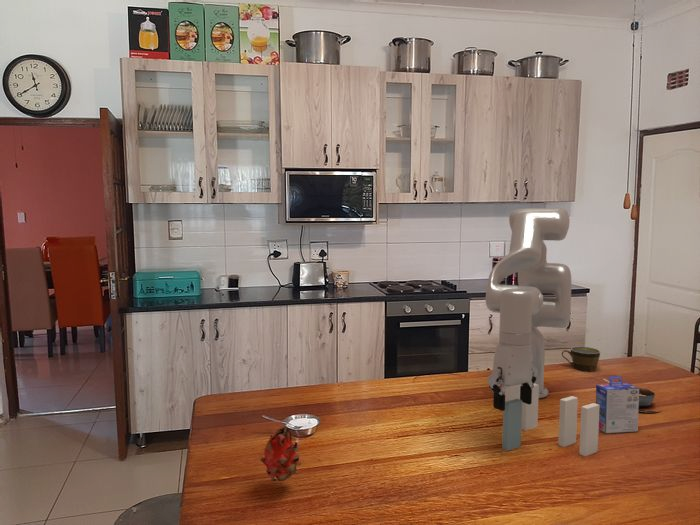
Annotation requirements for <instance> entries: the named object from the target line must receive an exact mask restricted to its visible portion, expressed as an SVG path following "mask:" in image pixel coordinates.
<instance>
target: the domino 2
mask: <svg viewBox="0 0 700 525" xmlns="http://www.w3.org/2000/svg"><path fill="white" fill-rule="evenodd" d="M502 412H503V413H502V414H503V415H502V418H503V419H502V442H501V443H502V444H501V445H502V447H501V448H502V449H503V450H505V451H506V452H507V451H511V450H513V449H517V448H520V447H522V429H521V425H522V400H519V399H514V400H510V401H506V402H505V410H504V411H502Z"/></svg>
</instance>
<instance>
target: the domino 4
mask: <svg viewBox="0 0 700 525" xmlns="http://www.w3.org/2000/svg"><path fill="white" fill-rule="evenodd" d="M578 401H579V398H578V397H576V396H574V395H571V396H568V397H567V396H566V397H564V398H561V399H559V418H558V420H559V421H558V441H557V443H558V446H560V447H562V448H565V447H567V446H570V445H573V444H574V445H575V444H576V443H577V432H578V431H577V430H578V429H577V426H578V408H579V407H578Z"/></svg>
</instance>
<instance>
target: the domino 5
mask: <svg viewBox="0 0 700 525" xmlns="http://www.w3.org/2000/svg"><path fill="white" fill-rule="evenodd" d="M599 408H600V405H598V404H596V402H595V403H594V402H593V403H589V404H586V405H583V406H581V407H580V430H579V437H580V438H579V453H578V454H579V455H581V456H583V457H588V456H590V455H593V454H595V453H598V449H599V448H598V446H599V430H600V429H599Z"/></svg>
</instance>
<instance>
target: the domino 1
mask: <svg viewBox="0 0 700 525" xmlns="http://www.w3.org/2000/svg"><path fill="white" fill-rule="evenodd" d="M520 386H521V384H519V385H514V386H507V388H506V390H505V392H504V395H505V402H506V401H510V400H514V399H519V400H520Z"/></svg>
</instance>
